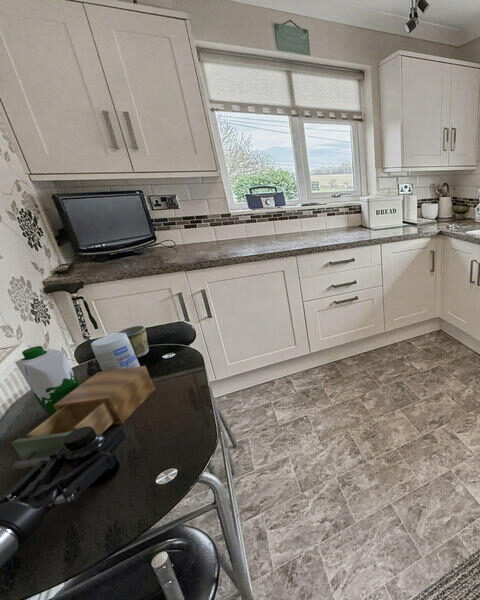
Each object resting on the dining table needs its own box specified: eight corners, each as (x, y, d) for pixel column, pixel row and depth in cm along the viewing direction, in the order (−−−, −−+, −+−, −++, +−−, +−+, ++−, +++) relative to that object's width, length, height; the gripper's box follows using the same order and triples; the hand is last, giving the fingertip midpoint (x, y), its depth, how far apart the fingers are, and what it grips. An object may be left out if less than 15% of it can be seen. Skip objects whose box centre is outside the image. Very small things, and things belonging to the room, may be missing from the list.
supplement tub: (133, 381, 109) (115, 343, 104) (101, 387, 108) (81, 348, 102) (147, 366, 118) (132, 330, 113) (118, 371, 117) (101, 335, 111)
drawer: (68, 472, 73) (54, 448, 71) (7, 481, 72) (-9, 458, 70) (124, 415, 91) (114, 395, 89) (76, 422, 90) (64, 402, 88)
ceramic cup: (158, 350, 130) (149, 328, 126) (128, 363, 122) (118, 339, 118) (144, 344, 136) (135, 322, 133) (115, 355, 129) (105, 333, 125)
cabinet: (122, 423, 89) (109, 397, 86) (68, 431, 88) (52, 405, 85) (155, 389, 104) (145, 365, 101) (109, 395, 103) (97, 371, 100)
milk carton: (77, 396, 104) (47, 341, 97) (94, 401, 101) (64, 344, 93) (41, 415, 96) (6, 356, 89) (58, 420, 93) (23, 360, 86)
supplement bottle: (107, 460, 77) (86, 420, 73) (128, 465, 75) (107, 424, 71) (73, 485, 71) (47, 443, 67) (94, 492, 69) (69, 449, 65)
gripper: (-52, 559, 55) (70, 451, 76) (67, 546, 55) (155, 442, 77) (-79, 529, 52) (55, 426, 74) (46, 515, 53) (143, 417, 74)
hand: (106, 434), depth 75 cm, fingers closed on supplement bottle, 7 cm apart
